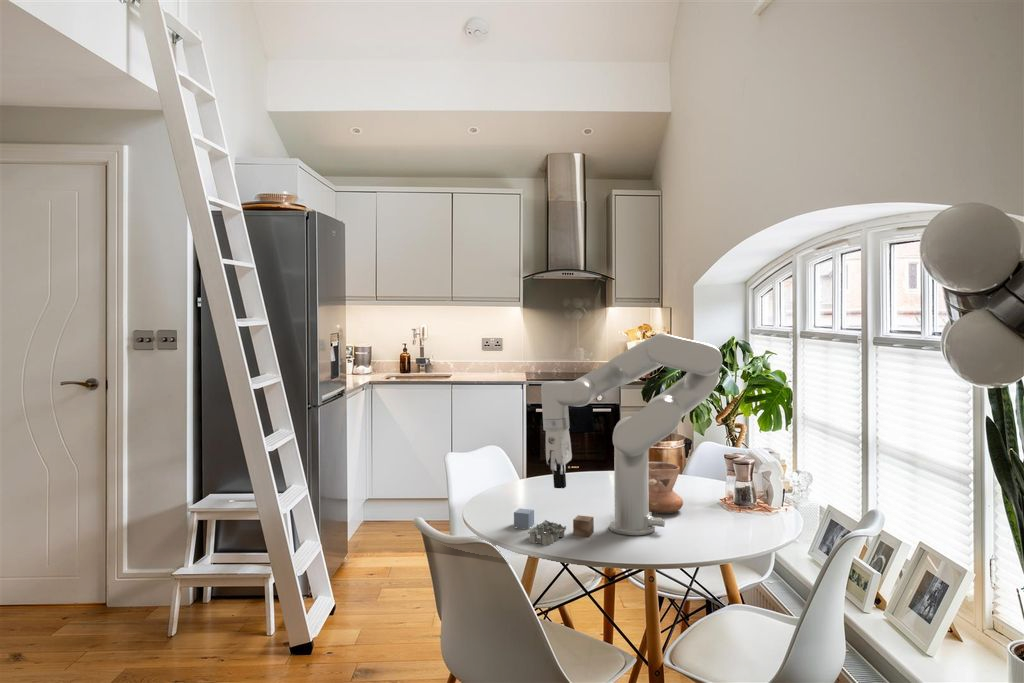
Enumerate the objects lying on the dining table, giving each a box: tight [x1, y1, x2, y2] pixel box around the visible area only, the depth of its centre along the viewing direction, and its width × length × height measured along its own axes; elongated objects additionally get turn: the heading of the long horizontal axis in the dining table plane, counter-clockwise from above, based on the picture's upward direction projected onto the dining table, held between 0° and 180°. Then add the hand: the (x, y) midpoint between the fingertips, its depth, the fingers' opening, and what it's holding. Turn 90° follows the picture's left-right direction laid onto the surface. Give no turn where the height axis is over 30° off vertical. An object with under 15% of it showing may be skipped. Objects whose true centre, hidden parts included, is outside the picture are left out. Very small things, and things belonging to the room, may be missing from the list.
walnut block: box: [572, 514, 595, 538], centre depth 176 cm, size 4×4×4 cm
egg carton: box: [527, 519, 567, 546], centre depth 173 cm, size 11×8×4 cm
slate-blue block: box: [513, 507, 535, 530], centre depth 184 cm, size 4×4×4 cm
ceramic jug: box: [649, 461, 684, 515], centre depth 199 cm, size 18×14×14 cm
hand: (560, 487), depth 184 cm, fingers closed
